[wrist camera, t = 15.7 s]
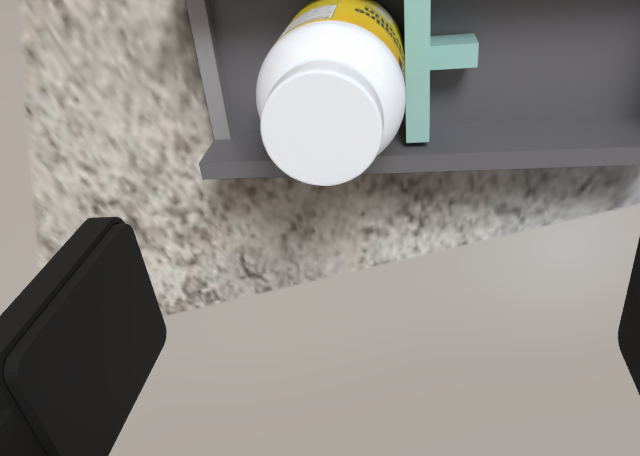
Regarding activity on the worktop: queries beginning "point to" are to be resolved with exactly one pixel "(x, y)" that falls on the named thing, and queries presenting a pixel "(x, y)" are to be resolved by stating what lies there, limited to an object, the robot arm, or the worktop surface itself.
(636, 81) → the tray
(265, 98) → the pill bottle
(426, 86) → the pusher paddle
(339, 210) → the worktop surface
